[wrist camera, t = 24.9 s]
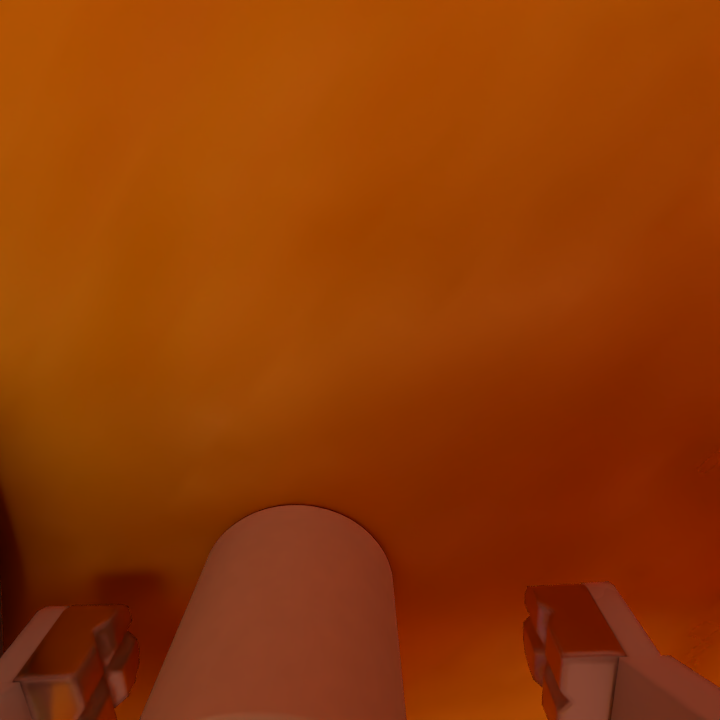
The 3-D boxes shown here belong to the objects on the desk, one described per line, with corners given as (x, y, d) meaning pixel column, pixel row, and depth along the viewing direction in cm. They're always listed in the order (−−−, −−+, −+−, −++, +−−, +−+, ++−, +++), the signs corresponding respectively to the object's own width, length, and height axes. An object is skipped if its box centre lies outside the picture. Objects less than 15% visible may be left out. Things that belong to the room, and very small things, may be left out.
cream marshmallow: (390, 498, 10) (415, 711, 6) (394, 654, 11) (417, 923, 7) (191, 507, 10) (73, 724, 6) (217, 660, 11) (133, 935, 7)
